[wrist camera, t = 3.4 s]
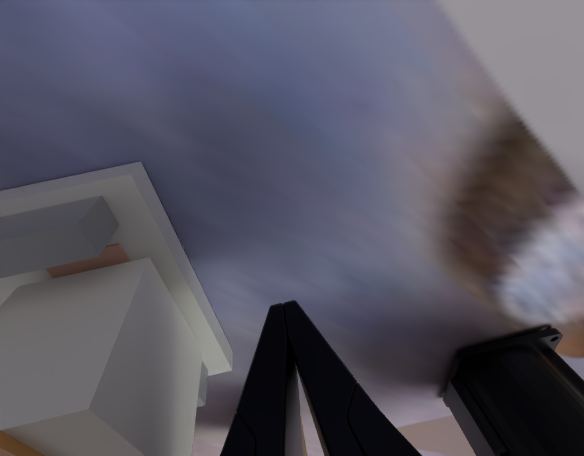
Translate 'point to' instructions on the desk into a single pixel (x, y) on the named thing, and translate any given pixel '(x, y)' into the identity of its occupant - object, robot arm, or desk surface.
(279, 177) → the desk surface
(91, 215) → the panel
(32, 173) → the desk surface
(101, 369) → the breaker
